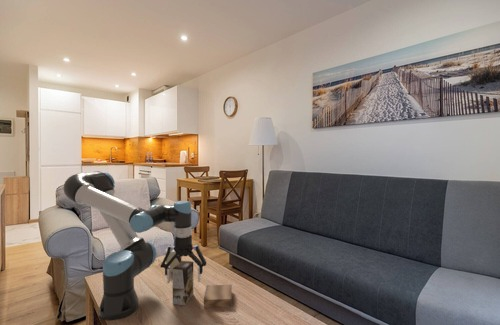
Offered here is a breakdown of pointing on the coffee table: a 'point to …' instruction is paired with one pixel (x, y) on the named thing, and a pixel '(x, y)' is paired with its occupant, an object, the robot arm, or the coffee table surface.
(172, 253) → the coffee cup
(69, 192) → the robot arm
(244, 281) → the coffee table surface
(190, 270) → the coffee box
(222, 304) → the walnut block
